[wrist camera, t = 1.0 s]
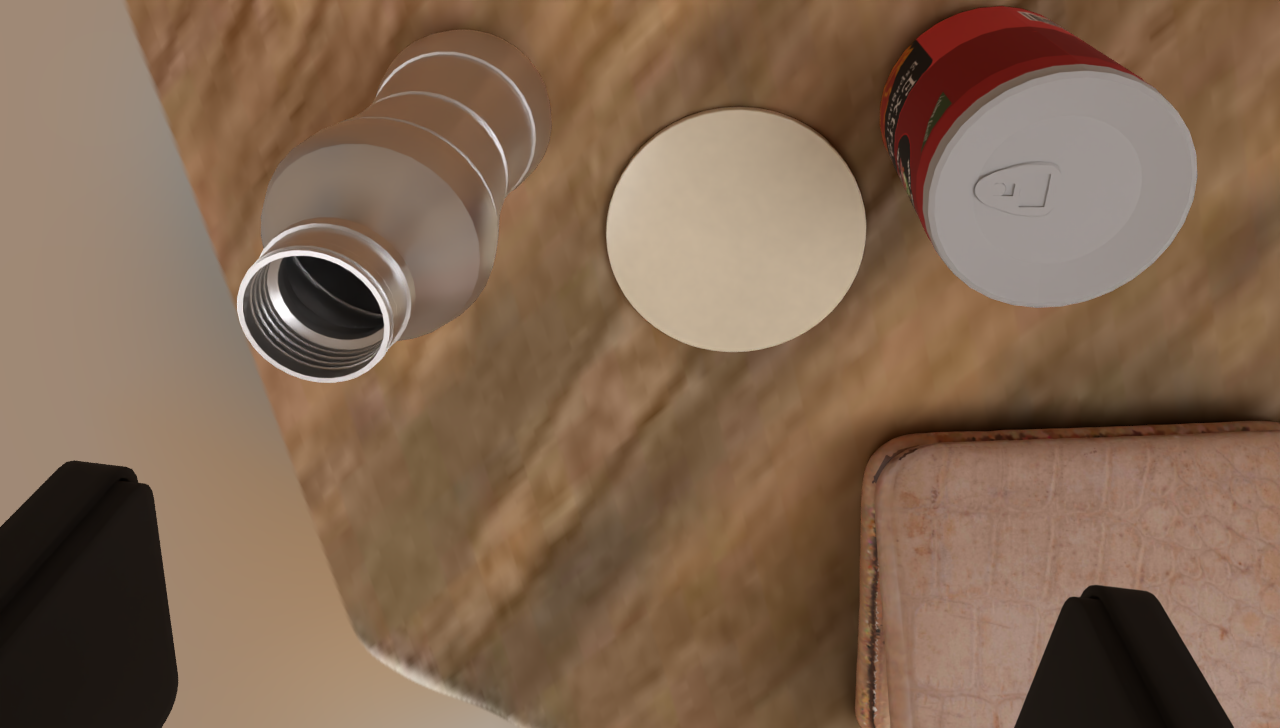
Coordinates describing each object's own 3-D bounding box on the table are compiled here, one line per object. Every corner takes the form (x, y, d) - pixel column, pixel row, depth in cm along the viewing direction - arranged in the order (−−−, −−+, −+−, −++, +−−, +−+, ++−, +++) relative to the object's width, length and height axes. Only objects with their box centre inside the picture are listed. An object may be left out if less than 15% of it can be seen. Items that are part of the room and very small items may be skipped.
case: (1324, 399, 46) (1592, 663, 32) (1227, 728, 56) (1399, 1039, 42) (862, 410, 48) (923, 666, 34) (848, 728, 58) (892, 1026, 44)
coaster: (623, 87, 41) (622, 90, 41) (893, 127, 41) (895, 131, 41) (593, 328, 46) (592, 333, 46) (832, 363, 47) (834, 368, 46)
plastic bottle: (394, 8, 40) (151, 172, 23) (565, 27, 40) (454, 205, 23) (398, 166, 43) (187, 417, 26) (557, 184, 43) (453, 446, 26)
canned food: (861, 31, 40) (909, 106, 30) (1076, -24, 38) (1199, 36, 28) (891, 213, 43) (942, 333, 33) (1089, 169, 42) (1202, 281, 32)
